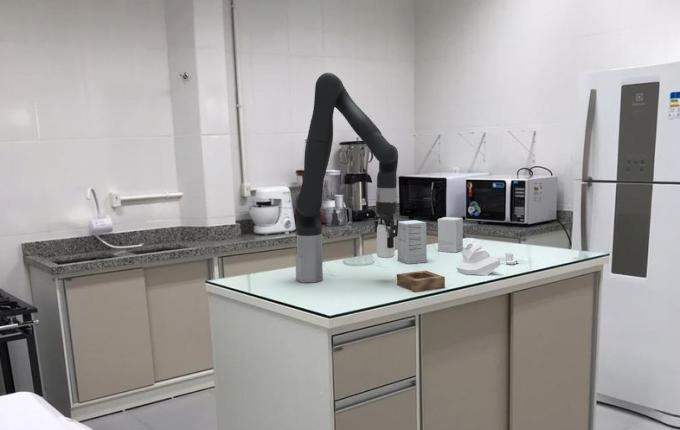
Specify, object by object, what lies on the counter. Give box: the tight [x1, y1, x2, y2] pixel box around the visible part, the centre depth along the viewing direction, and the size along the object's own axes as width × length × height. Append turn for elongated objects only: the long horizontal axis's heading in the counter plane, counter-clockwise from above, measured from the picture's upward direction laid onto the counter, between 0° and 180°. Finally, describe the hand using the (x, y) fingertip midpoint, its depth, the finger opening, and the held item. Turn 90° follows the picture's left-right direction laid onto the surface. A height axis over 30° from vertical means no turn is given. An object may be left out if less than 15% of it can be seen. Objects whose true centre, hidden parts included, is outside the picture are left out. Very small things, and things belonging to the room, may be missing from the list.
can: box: [376, 223, 396, 259], centre depth 213 cm, size 6×6×12 cm
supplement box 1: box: [396, 219, 428, 265], centre depth 248 cm, size 10×9×17 cm
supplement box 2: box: [437, 216, 464, 253], centre depth 270 cm, size 9×9×15 cm
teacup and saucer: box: [500, 252, 516, 265], centre depth 242 cm, size 9×8×4 cm
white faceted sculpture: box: [456, 237, 502, 276], centre depth 225 cm, size 12×15×14 cm
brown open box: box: [396, 270, 446, 293], centre depth 206 cm, size 12×12×4 cm
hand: (385, 246), depth 213 cm, fingers closed on can, 6 cm apart
